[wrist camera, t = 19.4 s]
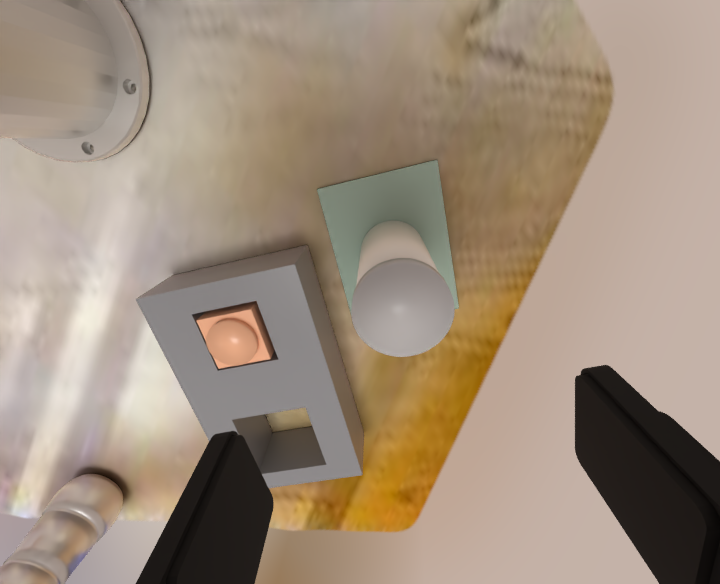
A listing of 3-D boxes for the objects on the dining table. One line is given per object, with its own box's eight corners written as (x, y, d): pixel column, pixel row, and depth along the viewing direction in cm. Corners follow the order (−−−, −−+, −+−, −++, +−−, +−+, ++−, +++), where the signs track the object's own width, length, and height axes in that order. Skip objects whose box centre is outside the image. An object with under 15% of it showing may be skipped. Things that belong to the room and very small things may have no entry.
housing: (172, 275, 30) (135, 299, 25) (307, 244, 29) (294, 264, 24) (253, 449, 37) (236, 492, 33) (363, 432, 36) (362, 475, 31)
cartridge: (352, 227, 27) (340, 276, 17) (419, 212, 27) (447, 253, 17) (367, 288, 29) (363, 364, 19) (429, 275, 29) (460, 347, 19)
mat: (317, 188, 27) (317, 189, 26) (436, 159, 26) (437, 159, 25) (355, 326, 31) (354, 328, 31) (457, 306, 30) (458, 308, 30)
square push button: (223, 293, 30) (192, 324, 25) (270, 283, 30) (248, 312, 24) (241, 335, 32) (215, 373, 26) (285, 327, 31) (268, 363, 26)
